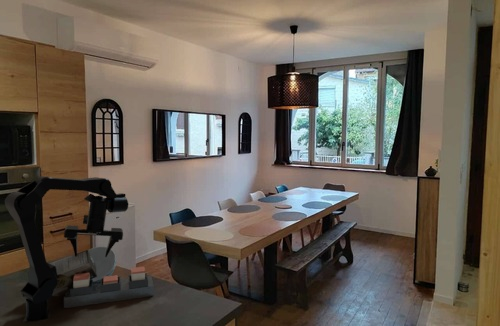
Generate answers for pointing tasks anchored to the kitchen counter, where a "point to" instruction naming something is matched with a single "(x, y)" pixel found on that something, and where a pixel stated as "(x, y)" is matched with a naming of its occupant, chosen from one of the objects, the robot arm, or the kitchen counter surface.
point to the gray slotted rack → (108, 292)
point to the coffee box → (73, 269)
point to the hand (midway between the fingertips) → (91, 256)
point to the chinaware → (103, 262)
